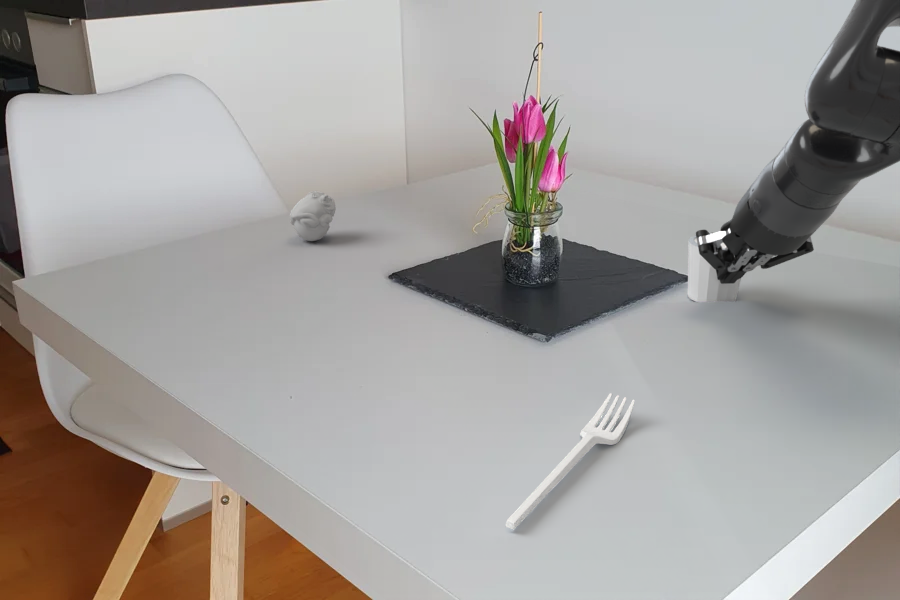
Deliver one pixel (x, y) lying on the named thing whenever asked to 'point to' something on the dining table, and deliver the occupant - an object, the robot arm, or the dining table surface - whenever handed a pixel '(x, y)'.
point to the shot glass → (706, 278)
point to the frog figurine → (313, 215)
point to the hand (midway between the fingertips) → (724, 276)
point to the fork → (577, 455)
